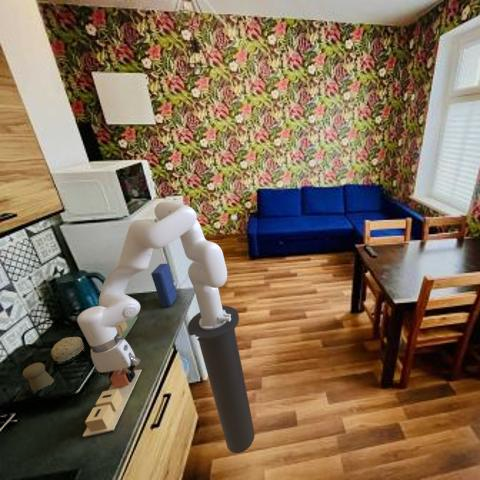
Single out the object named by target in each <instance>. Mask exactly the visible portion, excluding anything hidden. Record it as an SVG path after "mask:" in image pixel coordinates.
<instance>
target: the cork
mask: <svg viewBox="0 0 480 480" xmlns="http://www.w3.org/2000/svg"><path fill="white" fill-rule="evenodd" d="M22 377H23V378H25V379H26V380H28V383H29V386H30V389H31V391H32V390H34V391H36V390H40V389H43V388H44V387H46V386H48V385H51V384H52V383H53V382H54V380H55V379H54V378H53V377H52V376H51V375H50V374H49V373H48V372H47V371H46V365H45V364H44V363H43V362H35V363H32V364H29V365H28V366H27V367H25V368H24V369H23V370H22Z"/></svg>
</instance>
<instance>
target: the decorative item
mask: <svg viewBox="0 0 480 480" xmlns="http://www.w3.org/2000/svg"><path fill="white" fill-rule="evenodd" d="M83 349H84V350H83ZM82 350H83V351H84V352H85V346H84V342H83V339H82V338H81V337H79V336H69V337H64V338H62V339H60V340H59V341H58V342H56V343H55V344H54V345H53V347H52V348H51V351H50V355H51V357H52V360H53V361H58V362H63V361H66V360H69V359H71V358H72V357H75V356H76V355H78V354H79V353H80V352H81V351H82Z"/></svg>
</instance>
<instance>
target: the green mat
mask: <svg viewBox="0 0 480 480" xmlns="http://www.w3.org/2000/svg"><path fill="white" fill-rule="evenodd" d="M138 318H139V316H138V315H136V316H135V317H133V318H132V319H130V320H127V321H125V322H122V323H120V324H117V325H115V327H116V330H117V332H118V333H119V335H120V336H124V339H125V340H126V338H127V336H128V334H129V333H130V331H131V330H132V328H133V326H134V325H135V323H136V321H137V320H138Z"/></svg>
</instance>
